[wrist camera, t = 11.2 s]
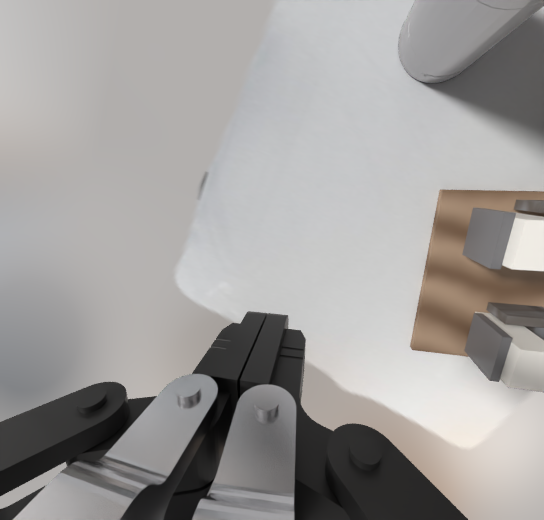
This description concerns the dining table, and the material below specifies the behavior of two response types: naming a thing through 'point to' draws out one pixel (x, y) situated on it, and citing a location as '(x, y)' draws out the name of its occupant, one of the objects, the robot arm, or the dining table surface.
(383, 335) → the dining table surface
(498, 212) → the button
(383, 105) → the dining table surface
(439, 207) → the button board
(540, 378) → the button
